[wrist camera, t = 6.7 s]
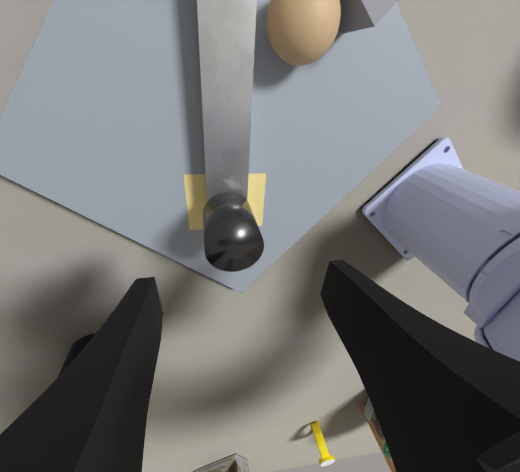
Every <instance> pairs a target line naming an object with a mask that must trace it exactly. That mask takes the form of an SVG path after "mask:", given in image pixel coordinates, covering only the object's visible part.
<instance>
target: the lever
mask: <svg viewBox="0 0 520 472" xmlns="http://www.w3.org/2000/svg"><path fill="white" fill-rule="evenodd" d="M196 1H197V21H198V40H199V60H200V79H201V99H202V118H203V138H204V157H205V177H206V196H207V203H206V205H205V207H204V209H203V230H204V251H205V256H206V258H207V260H208V262H209V263H210V264H211V265H212V266H213V267H215V268H217V269H219V270H222V271H227V272H236V271H241V270H244V269H247V268H249V267H251V266H252V265H253V264H255V263H256V262H257V261H258V260H259V258H260V257H261V255H262V253H263V250H264V241H263V238H262V235H261V232H260V230H259V227H258V225H257V222H256V220H255V217H254V215H253V212H252V210H251V207H250V205H249V203H248V201H247V196H248V175H249V154H250V133H251V112H252V91H253V70H254V49H255V28H256V7H257V0H196Z"/></svg>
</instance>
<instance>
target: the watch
mask: <svg viewBox="0 0 520 472" xmlns="http://www.w3.org/2000/svg"><path fill="white" fill-rule="evenodd" d="M311 426H312V429H313V432H314V435H315V439H316V442H317V445H318V448H319V451H320V454H321V457H322V458H321V459H320V460H319V463H320V466H327V465H330V464H332V463H333V462H334V461H335V459H334V456H333V455H329V453H328V449H327V446H326V443H325V440H324V437H323V435H322V432H321V429H320V426H319V423H318V421H317V422H314V423H311Z"/></svg>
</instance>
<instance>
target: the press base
mask: <svg viewBox="0 0 520 472" xmlns="http://www.w3.org/2000/svg"><path fill="white" fill-rule="evenodd" d="M397 1H398V0H257V7H256V28H255V49H254V70H253V91H252V112H251V133H250V154H249V175H248V196H247V201H248V203H249V205H250V207H251V210H252V212H253V215H254V217H255V220H256V222H257V225H258V227H259V230H260V232H261V235H262V238H263V241H264V250H263V253H262V255H261V257H260V258H259V260H258V261H257V262H256V263H255V264H253V265H252V266H251V267H249V268H247V269H244V270H241V271H236V272H227V271H222V270H219V269H217V268H215V267H213V266H212V265H211V264H210V263H209V262H208V260H207V258H206V256H205V251H204V230H203V209H204V207H205V205H206V203H207V196H206V177H205V157H204V138H203V118H202V99H201V79H200V60H199V40H198V21H197V1H196V0H53V2H52V5H51V7H50V9H49V11H48V13H47V15H46V18H45V20H44V22H43V24H42V26H41V29H40V31H39V33H38V35H37V37H36V40H35V42H34V44H33V46H32V48H31V51H30V53H29V55H28V57H27V59H26V61H25V64H24V66H23V68H22V70H21V72H20V75H19V77H18V79H17V81H16V83H15V86H14V88H13V90H12V92H11V94H10V97H9V99H8V101H7V103H6V105H5V107H4V110H3V112H2V114H1V116H0V175H2V176H4V177H6V178H8V179H10V180H12V181H14V182H16V183H18V184H20V185H22V186H24V187H26V188H28V189H30V190H32V191H34V192H36V193H38V194H40V195H42V196H44V197H46V198H48V199H51V200H53V201H55V202H57V203H59V204H61V205H63V206H65V207H67V208H69V209H71V210H73V211H75V212H77V213H79V214H81V215H83V216H85V217H87V218H89V219H91V220H93V221H95V222H97V223H99V224H102V225H104V226H106V227H108V228H110V229H112V230H114V231H116V232H118V233H120V234H122V235H124V236H126V237H128V238H130V239H132V240H134V241H136V242H138V243H140V244H142V245H144V246H146V247H148V248H150V249H152V250H155V251H157V252H159V253H161V254H163V255H165V256H167V257H169V258H171V259H173V260H175V261H177V262H179V263H181V264H183V265H185V266H187V267H189V268H191V269H193V270H195V271H197V272H199V273H201V274H203V275H205V276H208V277H210V278H212V279H214V280H216V281H218V282H220V283H222V284H224V285H226V286H228V287H230V288H232V289H234V290H236V291H238V292H240V293H242V292H243V291H244V290H245V289H246V288H247V287H249V286H250V285H251V284H252V283H253V282H254V281H255V280H256V279H257V278H258V277H259V276H260V275H261V274H262V273H263V272H265V271H266V270H267V269H268V268H269V267H270V266H271V265H272V264H273V263H274V262H275V261H276V260H277V259H278V258H279V257H281V256H282V255H283V254H284V253H285V252H286V251H287V250H288V249H289V248H290V247H291V246H292V245H293V244H294V243H295V242H297V241H298V240H299V239H300V238H301V237H302V236H303V235H304V234H305V233H306V232H307V231H308V230H309V229H310V228H311V227H313V226H314V225H315V224H316V223H317V222H318V221H319V220H320V219H321V218H322V217H323V216H324V215H325V214H326V213H327V212H329V211H330V210H331V209H332V208H333V207H334V206H335V205H336V204H337V203H338V202H339V201H340V200H341V199H342V198H343V197H345V196H346V195H347V194H348V193H349V192H350V191H351V190H352V189H353V188H354V187H355V186H356V185H357V184H358V183H359V182H361V181H362V180H363V179H364V178H365V177H366V176H367V175H368V174H369V173H370V172H371V171H372V170H373V169H374V168H376V167H377V166H378V165H379V164H380V163H381V162H382V161H383V160H384V159H385V158H386V157H387V156H388V155H389V154H390V153H392V152H393V151H394V150H395V149H396V148H397V147H398V146H399V145H400V144H401V143H402V142H403V141H404V140H405V139H406V138H408V137H409V136H410V135H411V134H412V133H413V132H414V131H415V130H416V129H417V128H418V127H419V126H420V125H421V124H422V123H424V122H425V121H426V120H427V119H428V118H429V117H430V116H431V115H432V114H433V113H434V112H435V111H436V110H437V109H438V108H440V107H441V106H442V105H441V103H440V100H439V98H438V96H437V94H436V91H435V89H434V87H433V84H432V82H431V80H430V77H429V75H428V73H427V70H426V68H425V66H424V64H423V61H422V59H421V57H420V54H419V52H418V50H417V47H416V45H415V43H414V40H413V38H412V36H411V34H410V31H409V29H408V27H407V24H406V22H405V20H404V17H403V15H402V13H401V11H400V8H399V6H398V4H397Z"/></svg>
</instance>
